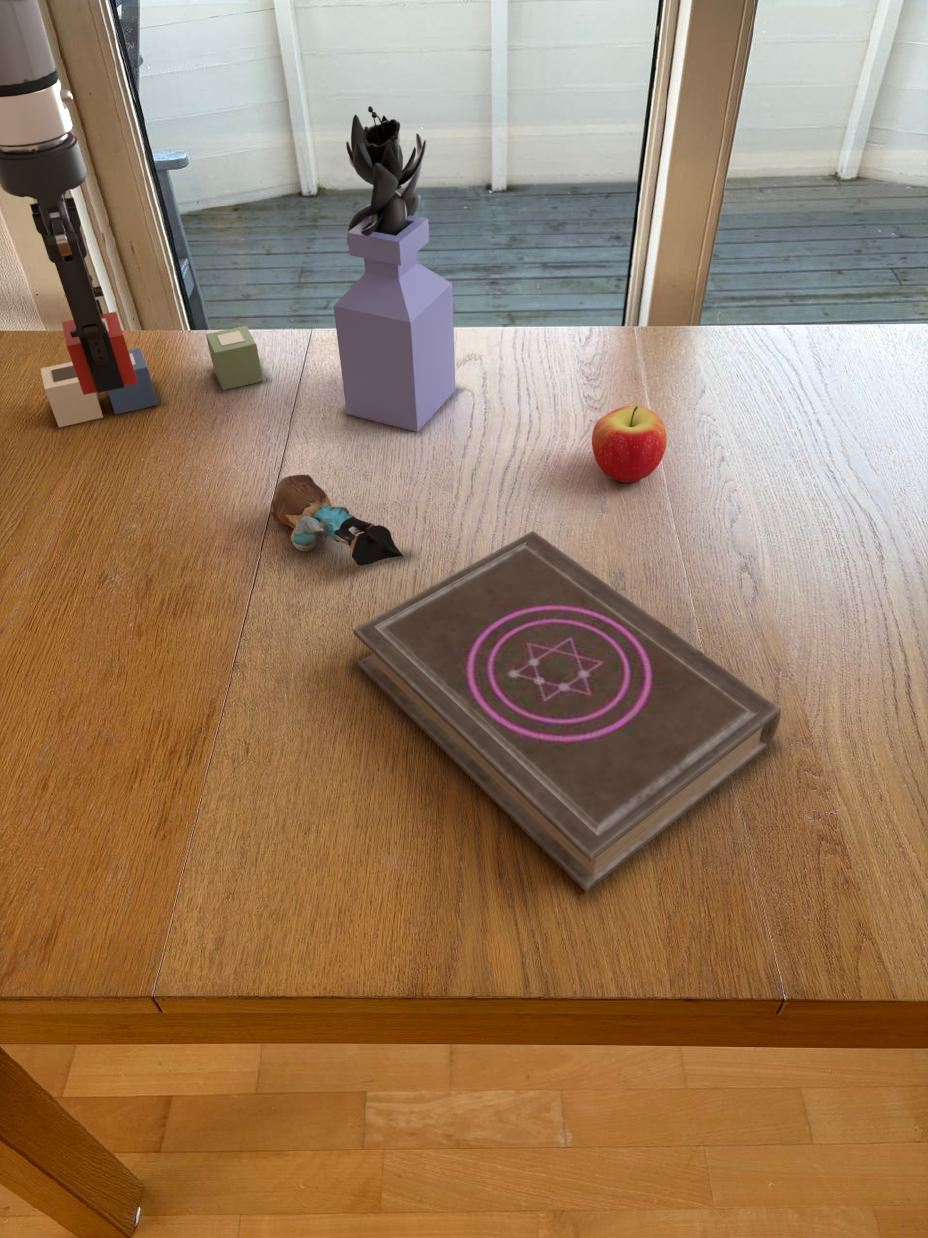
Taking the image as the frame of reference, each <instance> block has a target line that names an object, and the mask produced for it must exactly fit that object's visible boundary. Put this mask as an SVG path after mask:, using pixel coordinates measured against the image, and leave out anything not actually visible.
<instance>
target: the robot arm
mask: <svg viewBox="0 0 928 1238" xmlns="http://www.w3.org/2000/svg"><path fill="white" fill-rule="evenodd" d="M61 88H62V85H61V81H60V79H59V73H58V70H57V68H56V64H55V60H54V56H53V53H52V49H51V46H50V42H49V39H48V34H47V31H46V27H45V24H44V20H43V16H42V12H41V9H40V5H39V2H38V0H0V187H1V189H2V190H3V191H4V192H5V193H7V194H9V195H11V196H14V197H17V198H18V197H19V198H25V197H26V198H32V199H34V200H36V202H34V203H30V204H29V206H30V209H31V216H32V220H33V224H34V226H35V229H36V231H37V233H38V234H39V235H40V236H41V238H42V241H43V245H44V247H45V251H46V254H47V257H48V259H49V261H50V262H51V263H52V264H54V266H55V269H56V271H57V275H58V277H59V280H60V283H61V286H62V289H63V293H64V295H65V298H66V301H67V305H68V307H69V311H70V313H71V316H72V320H74V323H75V326H76V330H71V331H70V334H71V337H72V338H74V337H79V339H80V342H81V345H82V348H83V351H84V354H85V357H86V360H87V363H88V366H89V368H90V371H91V374H92V377H93V380H94V383H95V386H96V389H97V392H96V393H97V394H100V393H104V392H108V391H110V390H115V389H120V388H125V387H124V383H123V380H122V377H121V374H120V371H119V367H118V364H117V361H116V358H115V354H114V351H113V348H112V345H111V342H110V338H109V335H108V332H107V329H106V325H105V323H104V322H103V321H102V318H101V314H104V312H103V309H102V305H101V303H100V300H99V297H104V291H103V289H102V286H101V285H98V286H94V285H93V276H92V274H90V272H89V268H88V265H87V261H86V259H85V258H86V257H87V255H88V251H87V248H86V244H85V241H84V236H83V233H82V230H81V226H82V222H81V218H80V214H79V212H78V208H77V205H76V201H75V198H74V197H73V196H72V197H66V195H67V192H68V191H69V190H72V191H73V190H75V189H76V188H78V187H80V186H81V185H82V184H83V183H84V182H85V181H86V179H87V175H88V171H87V168H86V164H85V162H84V157H83V154H82V150H81V148H80V144H79V140H78V138H77V136H75V134H73V133H72V132H71V130H72V128H73V122H72V120H71V119H72V118H71V115H70V111H69V109H68V106H67V105H66V104H67V103H70V102H72V101H73V99H74V98H73V94H72V93H71V91H70V90H69V89H66V88H64V89H62V90H61ZM96 298H98V299H96Z"/></svg>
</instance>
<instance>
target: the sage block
mask: <svg viewBox="0 0 928 1238" xmlns="http://www.w3.org/2000/svg"><path fill="white" fill-rule="evenodd" d="M205 336H206V341H207V346H208V349H209V353H210V354H209V355H210V359H211V364H212V367H213V372H214V374H215V377H216V378H217V381H218V383H219V384H220V387H221V389H222V391H226V390H231V389H235V388H239V387H244V386H248V385H252V384H258V383H261V382H264V378H263V377H264V376H263V371H262V365H261V361H260V356H259V350H258V346H257V342H256V341H255V339H254V337H253V335H252V333H251V332H250V330H249V328H248V326H247V325H243V326H238V327H234V328H229V329H223V330H219V331H214V332H210V333H206V334H205Z"/></svg>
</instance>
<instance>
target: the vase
mask: <svg viewBox="0 0 928 1238" xmlns="http://www.w3.org/2000/svg"><path fill="white" fill-rule="evenodd" d="M367 108H368V109H367V111H368V113H370V114H371V118H372V119H373V122H374V124H373V125H371V126H369V127H368V126H363V125H362V123H361V120H360V119H359V118H360V117H359V116H358V115H357V114H356V113H355V114H354V116H353V118H352V124H351V130H350V131H351V132H350V143H349V140H347V141H346V143H345V147H346V151H347V154H348V158H349V159H348V161H349V164H350V165H351V167H352V168H353V169H354V170H355V172H356V175H358V176H359V177H360V178H361V179H362V180H363V181H364V182H366V183H368V184H370V185H372V192H371V194H372V195H371V200H370V203H369V204H368V205H366V206H364V207H362V208H361V209H359V210H357V212H355V214H354V215H353V216H352V218H351V220H350V222H349V224H348V226H347V227H348V229H347V233H346V238H347V239H346V243H347V245H348V251H349V252H348V253H349V256H351V257H356V258H362V259H363V263H364V271H365V272H364V273H363V274H362V275H361V277H359V279H358V280H356V281H355V283H354V284H353V285H352V286H351V287H350V288H349V289H348V290H347V291H346V292H345V293H344V294H343V295H342V296H341V298H340V299H338V301H336V303H335V304H334V305H333V314H334V322H335V323H334V324H335V328H336V337H337V346H338V347H337V348H338V354H339V360H340V361H339V362H340V369H341V378H342V384H343V395H344V402H345V403H344V404H345V410H346V411H345V412H346V415H349V416H354V417H357V418H360V419H361V418H362V419H365V420H369V421H373V422H377V423H381V424H385V425H389V426H392V427H397V428H400V429H404V430H408V431H411V432H417V433H418V432H419V431H420V430H422V428H423V427H424V426H425V425H426V424H427V422H429V420H430V419H431V418H432V417H433V416H434V415H435V414H436V413H437V411H438V410H439V409H440V408H441V407H443V405H444V404H445V403H446V401H447V400H449V398H450V397H451V396H452V395H453V394H454V392H456V390H457V389H456V388H457V387H456V359H455V358H456V356H455V355H456V354H455V327H454V326H455V325H454V295H453V294H454V293H453V283H452V282H451V281H449V280H447V279H446V278H444V277H442V276H441V275H439V274H437V273H436V272H434V271H433V270H431V269H430V268H427V267H426V266H424V265H422V264H421V263H419V261H418V260H419V259H418V252H419V251H421V249H422V248H423V247H425V245H427V244H428V243H429V242H430V225H429V224H430V223H429V218H427V217H422V216H421V217H420V216H416V212H417V210H418V209H419V207H420V203H421V198H422V197H421V194H418V193H415V191H416V189H417V187H418V184H419V181H420V177H421V174H422V170H423V166H424V165H423V164H424V156H425V152H426V149H427V140H426V139H424V141H422V137H421V136H420V134H419V133H416V134H415V139H416V146H414V147H413V149H412V152H411V155H410V156H409V159H408V161H407V163H406V164H405V166H404V156H403V150H402V147H401V144H400V141H401V137H400V136H401V123H400V121H397V120H396V119H395V118H394V119H393V118H392V119H390V120H389V119H388V118H387V117H386V116H385V114H383V116H382V117H380V116H379V115H378V114H377V112H376V111H374V108H373V107H372V106H368V107H367ZM376 118H377V119H378V122H379V123H378V124H377V123H376ZM405 184H406V185H405ZM402 185H405V187H404V188H403V186H402ZM401 188H403V190H402V192H401V194H400V192H399V191H397V190H400V189H401Z"/></svg>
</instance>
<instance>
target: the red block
mask: <svg viewBox="0 0 928 1238" xmlns="http://www.w3.org/2000/svg"><path fill="white" fill-rule="evenodd" d="M101 318H102V321H103V322H104V323H105V325H106V329H107V332H108V335H109V338H110V342H111V345H112V348H113V351H114V354H115V358H116V361H117V364H118V367H119V371H120V374H121V377H122V380H123V383H124V386H128V385H133V384H138V382H137V378H136V375H135V371H134V368H133V365H132V361H131V358H130V354H129V351H128V350H129V347H128V345H127V342H126V338H125V335H124V331H123V328H122V325H121V321H120V318H119V315H118V311H111V312H106V313H103V314H101ZM61 325H62V330H63V335H64V340H65V345H66V349H67V351H68V354H69V357H70V360H71V362H72V363H73V366H74V369H75V372H76V375H77V377H78V380H79V383H80V386H81V389H82V392H83V394H84V395H86V394H91V393H95V392H96V393H98V392H97V389H96V386H95V383H94V380H93V377H92V374H91V371H90V368H89V366H88V363H87V360H86V357H85V354H84V351H83V348H82V345H81V342H80V339H79V337H74V338H72V337H71V334H70V331H71V330H76V326H75V323H74V320H73V319H71V320H65V321H62V322H61Z"/></svg>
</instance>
